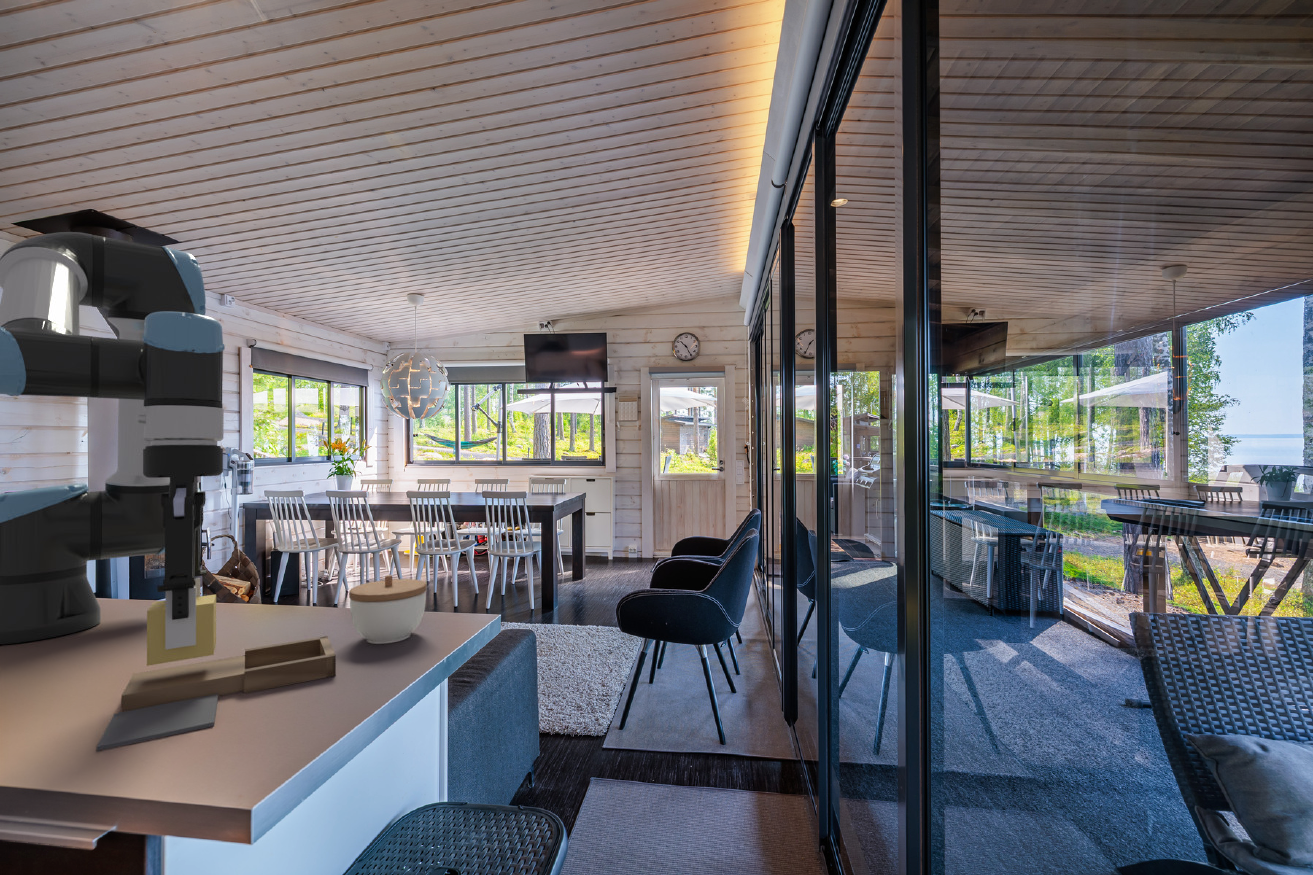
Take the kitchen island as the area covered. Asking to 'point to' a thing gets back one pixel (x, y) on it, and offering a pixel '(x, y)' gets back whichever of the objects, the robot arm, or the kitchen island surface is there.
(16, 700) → the kitchen island surface
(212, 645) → the block
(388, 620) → the lidded jar
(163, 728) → the mat
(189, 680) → the brown tray
